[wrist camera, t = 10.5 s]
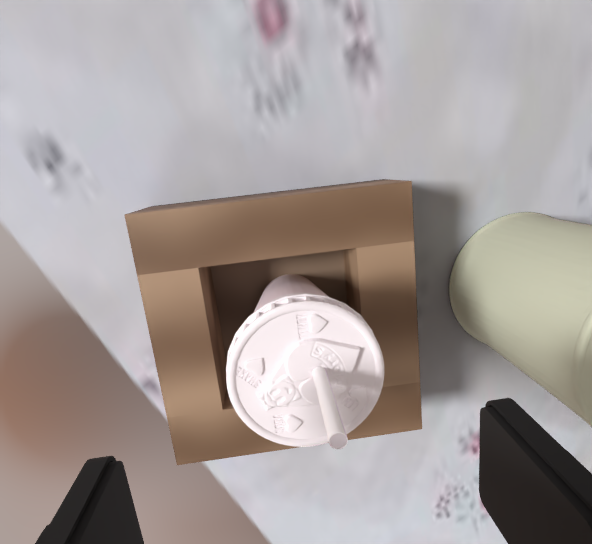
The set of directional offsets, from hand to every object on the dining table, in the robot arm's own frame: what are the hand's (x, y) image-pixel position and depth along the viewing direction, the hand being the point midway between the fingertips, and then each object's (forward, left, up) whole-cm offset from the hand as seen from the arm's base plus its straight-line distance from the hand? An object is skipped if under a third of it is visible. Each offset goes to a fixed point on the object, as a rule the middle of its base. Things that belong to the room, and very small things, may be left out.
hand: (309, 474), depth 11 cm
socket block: (+1, 0, -16) cm, 16 cm away
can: (+1, +16, -17) cm, 23 cm away
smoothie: (0, +1, -16) cm, 16 cm away
